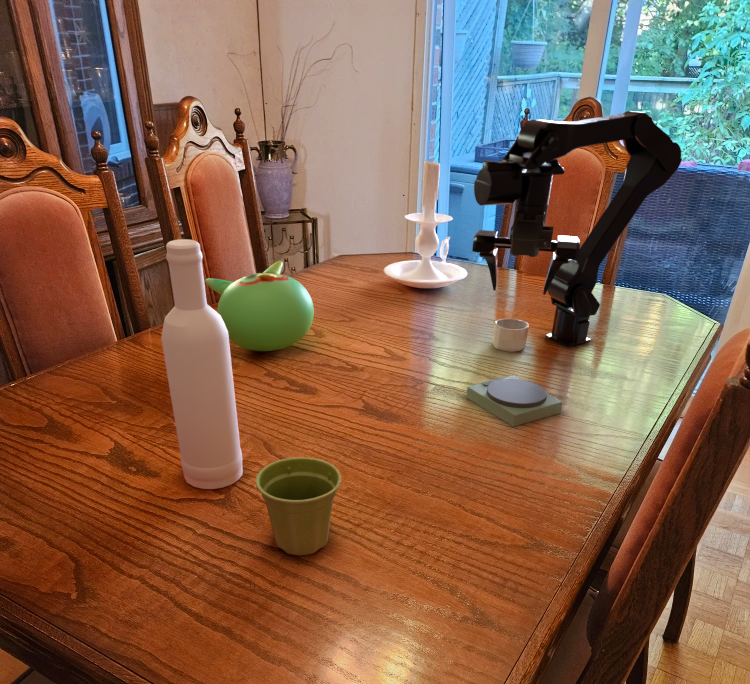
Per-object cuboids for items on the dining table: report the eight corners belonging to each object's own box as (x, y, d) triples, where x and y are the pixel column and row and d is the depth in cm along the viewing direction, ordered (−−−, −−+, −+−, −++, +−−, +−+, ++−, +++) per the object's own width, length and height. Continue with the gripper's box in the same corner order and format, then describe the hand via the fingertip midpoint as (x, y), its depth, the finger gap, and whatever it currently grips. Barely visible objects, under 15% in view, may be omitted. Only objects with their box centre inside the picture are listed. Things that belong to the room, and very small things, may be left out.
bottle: (176, 467, 91) (137, 238, 74) (232, 454, 94) (206, 231, 78) (194, 496, 85) (155, 254, 69) (252, 481, 89) (229, 247, 72)
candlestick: (483, 276, 173) (496, 155, 157) (447, 301, 154) (458, 168, 139) (411, 265, 180) (416, 149, 165) (369, 288, 162) (370, 160, 146)
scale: (466, 397, 111) (467, 382, 110) (511, 385, 116) (514, 370, 114) (513, 426, 103) (515, 410, 101) (560, 412, 107) (563, 397, 106)
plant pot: (263, 518, 82) (258, 457, 77) (340, 516, 82) (339, 455, 78) (259, 567, 74) (252, 502, 69) (343, 564, 75) (343, 500, 70)
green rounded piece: (241, 370, 119) (232, 288, 111) (207, 340, 131) (198, 264, 122) (329, 352, 127) (327, 274, 119) (290, 325, 139) (286, 253, 131)
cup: (485, 343, 132) (487, 321, 130) (510, 338, 135) (513, 316, 133) (506, 354, 128) (509, 331, 125) (532, 348, 131) (536, 326, 128)
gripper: (473, 207, 112) (464, 300, 120) (587, 215, 108) (570, 309, 117) (480, 196, 121) (471, 283, 129) (585, 203, 117) (569, 291, 126)
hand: (519, 292), depth 125 cm, fingers open, 9 cm apart
